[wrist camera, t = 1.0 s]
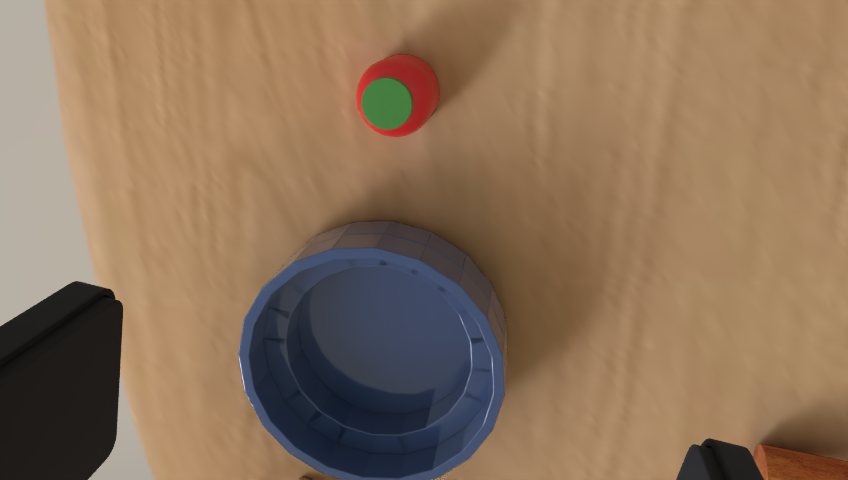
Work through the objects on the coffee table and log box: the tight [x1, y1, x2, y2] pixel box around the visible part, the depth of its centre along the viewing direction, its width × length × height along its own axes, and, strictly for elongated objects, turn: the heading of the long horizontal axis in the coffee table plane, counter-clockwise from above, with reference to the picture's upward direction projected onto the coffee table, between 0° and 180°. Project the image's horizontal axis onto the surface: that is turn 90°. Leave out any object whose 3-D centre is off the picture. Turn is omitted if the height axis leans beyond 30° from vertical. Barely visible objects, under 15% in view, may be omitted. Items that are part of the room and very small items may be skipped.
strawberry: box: [356, 54, 439, 137], centre depth 34 cm, size 4×4×5 cm
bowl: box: [238, 221, 507, 480], centre depth 38 cm, size 14×14×5 cm
